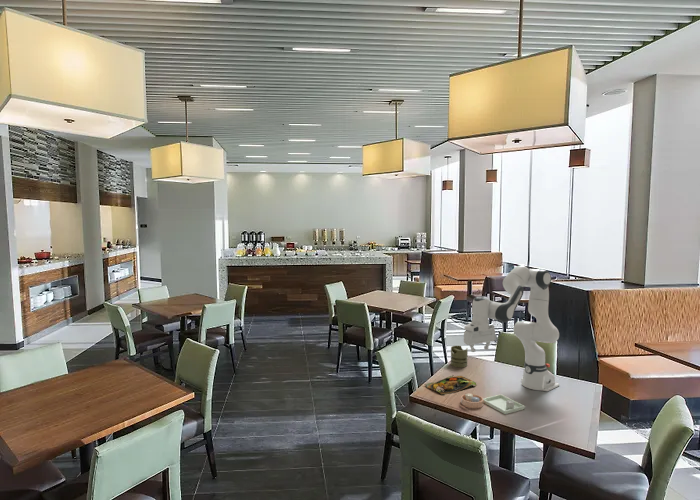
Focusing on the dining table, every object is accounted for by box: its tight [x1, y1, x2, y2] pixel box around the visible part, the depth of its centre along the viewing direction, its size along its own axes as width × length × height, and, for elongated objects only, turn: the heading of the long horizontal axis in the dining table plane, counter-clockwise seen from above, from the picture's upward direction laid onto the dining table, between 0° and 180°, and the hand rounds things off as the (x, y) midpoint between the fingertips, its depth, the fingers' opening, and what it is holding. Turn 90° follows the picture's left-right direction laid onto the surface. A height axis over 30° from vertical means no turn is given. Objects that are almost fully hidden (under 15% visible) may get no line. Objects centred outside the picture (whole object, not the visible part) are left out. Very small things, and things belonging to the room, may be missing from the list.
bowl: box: [460, 393, 485, 409], centre depth 224 cm, size 12×12×4 cm
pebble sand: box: [465, 393, 473, 402], centre depth 226 cm, size 4×4×4 cm
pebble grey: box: [506, 400, 514, 410], centre depth 217 cm, size 4×4×4 cm
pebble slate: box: [472, 397, 479, 402], centre depth 221 cm, size 4×4×4 cm
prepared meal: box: [424, 374, 477, 397], centre depth 249 cm, size 28×4×18 cm
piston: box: [450, 345, 469, 369], centre depth 287 cm, size 11×12×11 cm
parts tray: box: [482, 393, 526, 415], centre depth 221 cm, size 14×17×2 cm
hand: (479, 350), depth 225 cm, fingers open, 8 cm apart
